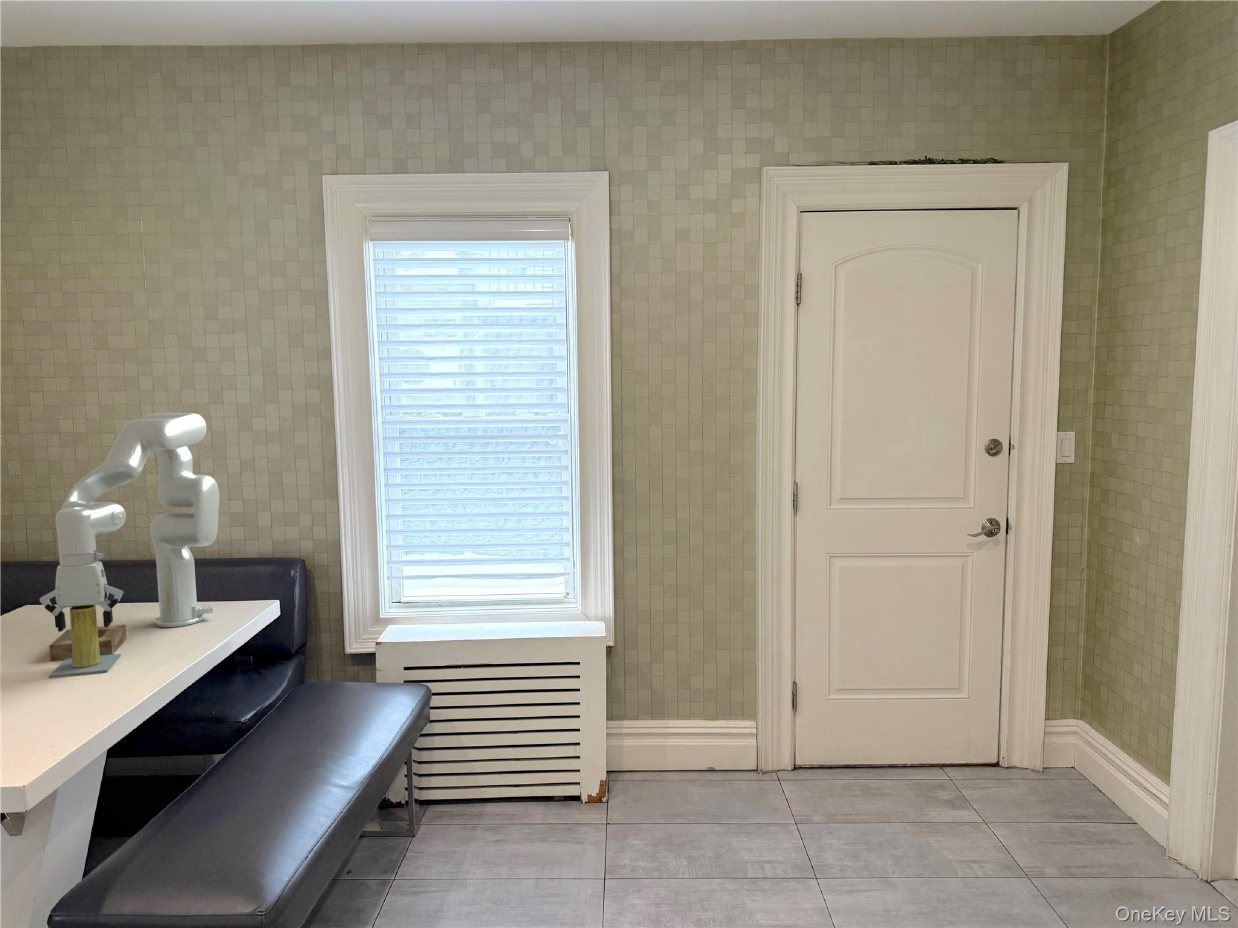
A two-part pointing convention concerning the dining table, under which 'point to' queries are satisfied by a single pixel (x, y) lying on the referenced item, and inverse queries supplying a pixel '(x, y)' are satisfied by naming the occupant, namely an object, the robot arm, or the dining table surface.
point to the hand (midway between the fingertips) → (85, 627)
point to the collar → (107, 638)
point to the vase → (84, 636)
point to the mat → (102, 667)
